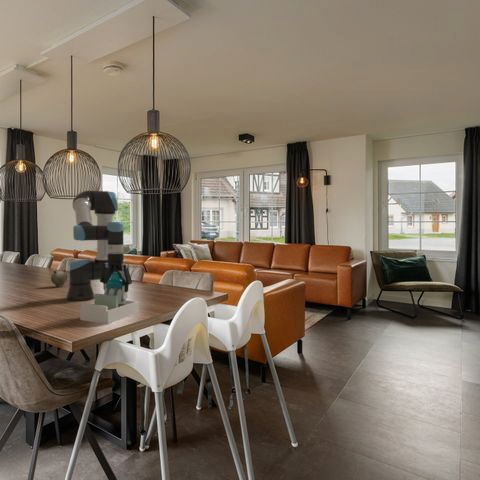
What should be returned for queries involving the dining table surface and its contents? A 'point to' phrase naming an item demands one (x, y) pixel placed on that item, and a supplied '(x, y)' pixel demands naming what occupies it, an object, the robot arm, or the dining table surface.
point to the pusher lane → (107, 312)
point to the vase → (115, 288)
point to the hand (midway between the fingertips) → (115, 297)
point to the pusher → (106, 300)
